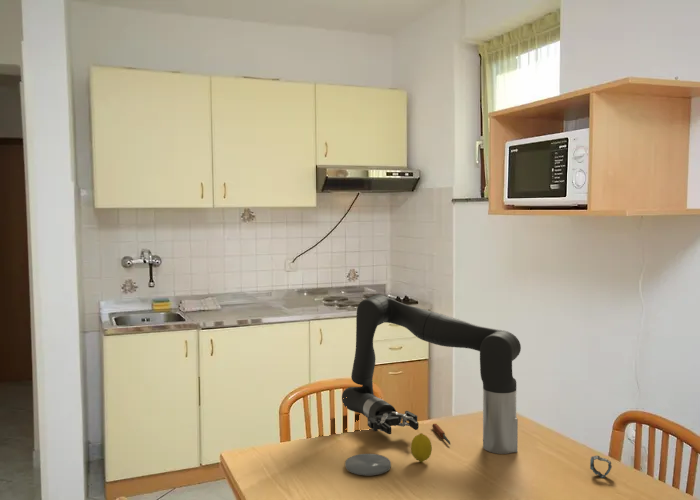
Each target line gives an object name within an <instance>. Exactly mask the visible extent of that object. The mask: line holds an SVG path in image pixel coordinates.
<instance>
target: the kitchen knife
mask: <svg viewBox="0 0 700 500" xmlns="http://www.w3.org/2000/svg"><path fill="white" fill-rule="evenodd" d="M431 426H432V427H431V428H432V429H433V431H434V432H435V433H436V434H437V435H438V436H439V437H440V439H442V440H443V439H444V440H445V442H446V443H448V444H449V445H451V441H450V440H449V438H448V437H447V435H446V434H445V431H443V429H442V428H441V427H440V426H439V425H438V424H437V423H433V424H432V425H431Z"/></svg>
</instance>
